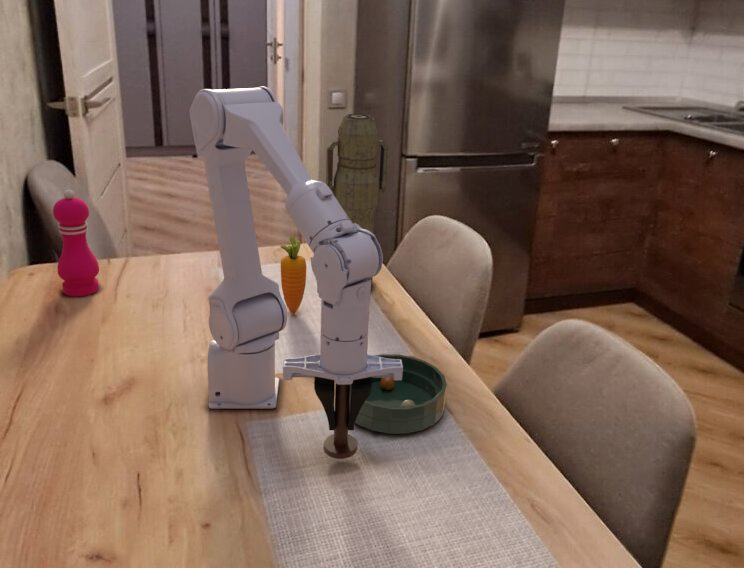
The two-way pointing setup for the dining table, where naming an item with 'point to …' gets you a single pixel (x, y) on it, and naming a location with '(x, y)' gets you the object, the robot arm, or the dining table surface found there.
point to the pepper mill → (75, 247)
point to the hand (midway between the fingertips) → (341, 425)
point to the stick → (341, 427)
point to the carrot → (293, 276)
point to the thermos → (357, 169)
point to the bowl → (416, 385)
